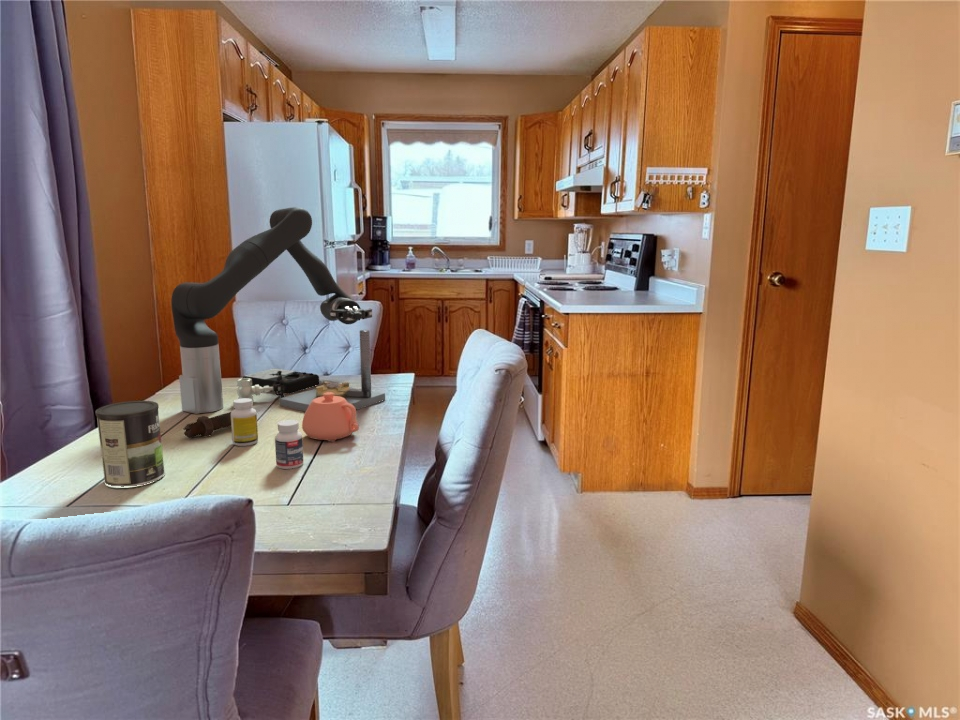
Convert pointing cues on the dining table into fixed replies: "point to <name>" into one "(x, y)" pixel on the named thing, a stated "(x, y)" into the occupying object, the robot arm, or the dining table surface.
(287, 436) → the pill bottle
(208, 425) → the bolt
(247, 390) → the valve
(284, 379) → the multimeter
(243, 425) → the supplement bottle
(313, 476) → the dining table surface
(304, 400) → the base plate
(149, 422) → the coffee can
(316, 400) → the sugar bowl
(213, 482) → the dining table surface
